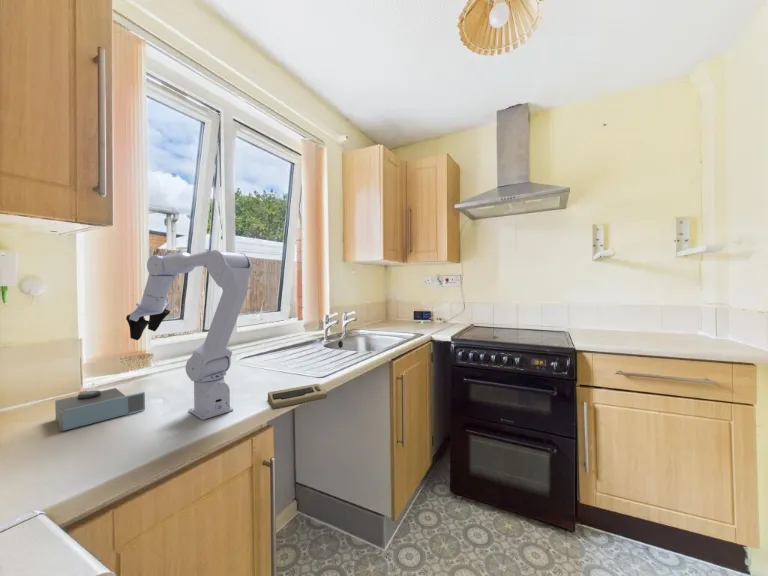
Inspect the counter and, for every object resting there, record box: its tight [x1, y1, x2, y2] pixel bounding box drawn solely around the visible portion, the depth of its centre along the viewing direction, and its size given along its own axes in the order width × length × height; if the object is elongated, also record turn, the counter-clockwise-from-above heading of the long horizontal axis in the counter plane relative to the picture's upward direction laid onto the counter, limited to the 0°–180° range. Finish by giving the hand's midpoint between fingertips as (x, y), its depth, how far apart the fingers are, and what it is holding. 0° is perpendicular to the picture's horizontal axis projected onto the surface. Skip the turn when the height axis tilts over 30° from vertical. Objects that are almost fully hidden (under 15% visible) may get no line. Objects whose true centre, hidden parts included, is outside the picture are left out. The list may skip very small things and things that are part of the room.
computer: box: [267, 383, 328, 410], centre depth 95 cm, size 16×8×3 cm, turn 121°
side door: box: [58, 391, 146, 433], centre depth 80 cm, size 16×1×5 cm, turn 141°
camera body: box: [54, 387, 126, 426], centre depth 82 cm, size 10×12×6 cm
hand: (143, 334), depth 96 cm, fingers open, 7 cm apart
